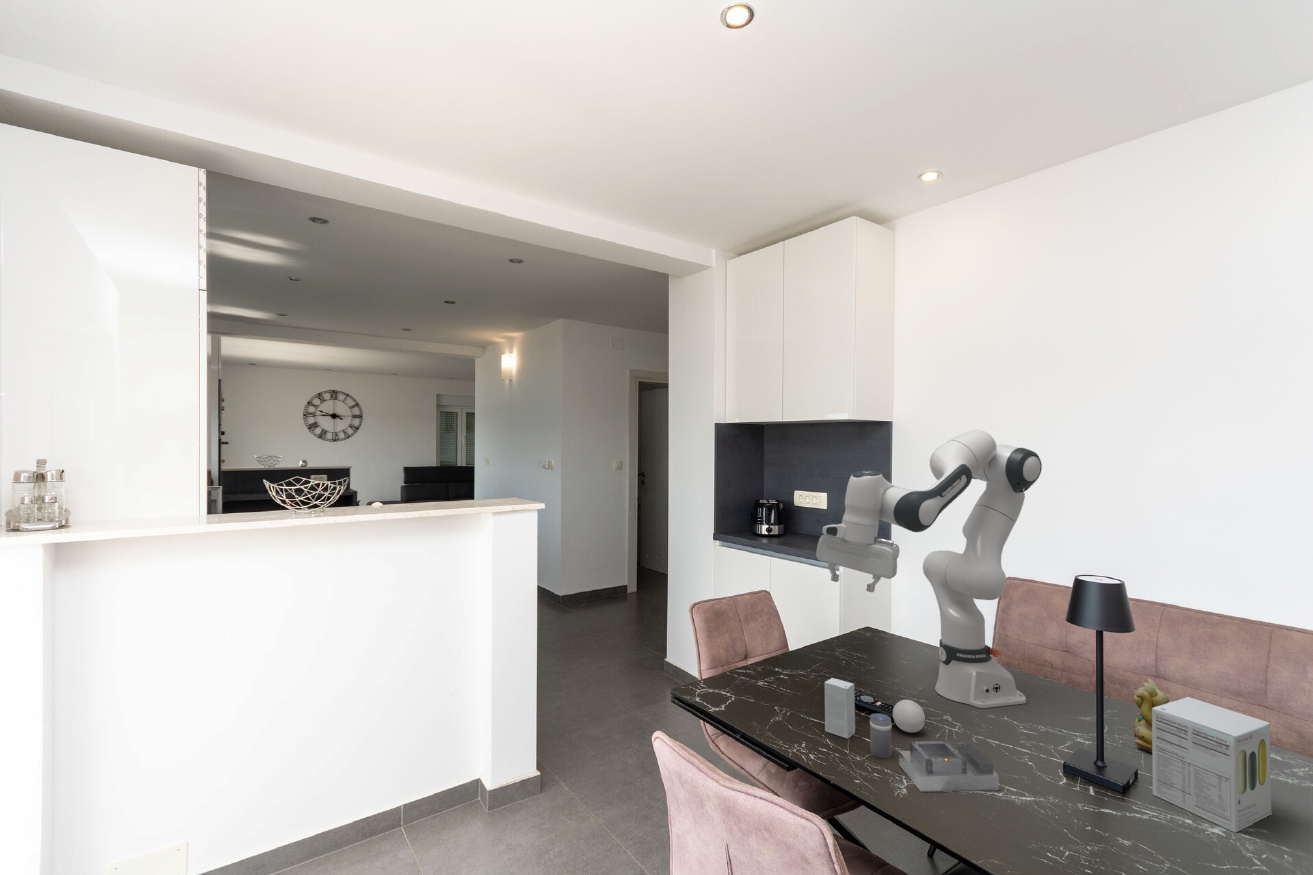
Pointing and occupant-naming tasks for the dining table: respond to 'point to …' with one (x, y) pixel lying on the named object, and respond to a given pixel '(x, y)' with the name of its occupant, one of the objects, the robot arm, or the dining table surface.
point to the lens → (880, 735)
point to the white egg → (908, 716)
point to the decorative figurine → (1147, 712)
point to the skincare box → (839, 708)
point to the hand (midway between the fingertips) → (852, 586)
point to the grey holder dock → (948, 767)
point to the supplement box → (1212, 762)
